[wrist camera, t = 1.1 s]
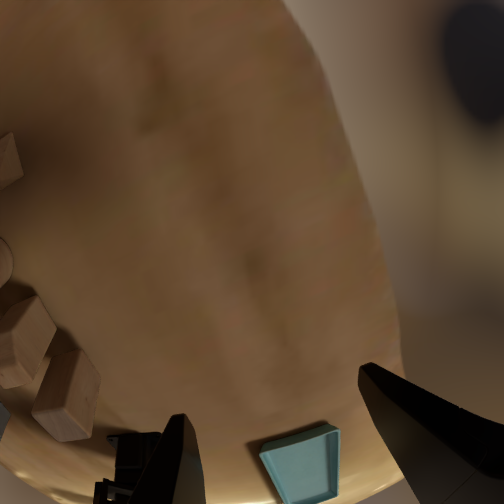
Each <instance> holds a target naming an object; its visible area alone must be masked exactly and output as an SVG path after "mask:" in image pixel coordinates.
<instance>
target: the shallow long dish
mask: <svg viewBox="0 0 504 504" xmlns="http://www.w3.org/2000/svg"><path fill="white" fill-rule="evenodd" d="M259 456H260V458H261V460H262V462H263V464H264V466H265V468H266V470H267V472H268V474H269V476H270V478H271V480H272V482H273V484H274V486H275V488H276V489H277V492H278V493H279V495H280V497H281V499H282V501H283V503H284V504H318V503H321V502H324V501H327V500H329V499H332V498H335V497H337V496H338V495H339V469H340V468H339V467H340V429H338V428H337V427H335V426H332V425H330V424H325V425H323V426H320V427H317V428H314V429H311V430H308V431H305V432H302V433H299V434H296V435H293V436H289V437H286V438H282V439H279V440H275V441H271V442H267V443H265V444H263V446H262V448H261V450H260V453H259Z"/></svg>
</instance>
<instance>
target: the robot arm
mask: <svg viewBox="0 0 504 504" xmlns="http://www.w3.org/2000/svg"><path fill="white" fill-rule="evenodd" d="M358 387H359V390H360V393H361V395H362V397H363V399H364V402H365V404H366V406H367V409H368V411H369V413H370V416H371V418H372V420H373V422H374V425H375V427H376V429H377V430H378V432H379V434H380V435H381V437H382V439H383V441H384V442H385V444H386V446H387V447H388V449H389V451H390V452H391V454H392V456H393V458H394V459H395V461H396V463H397V464H398V466H399V468H400V470H401V471H402V473H403V475H404V476H405V478H406V480H407V482H408V483H409V485H410V487H411V489H412V490H413V492H414V494H415V495H416V497H417V499H418V501H419V503H420V504H504V425H503V424H500V423H497V422H494V421H491V420H488V419H486V418H483V417H480V416H478V415H476V414H473V413H471V412H469V411H467V410H465V409H463V408H459V406H457V405H454V404H452V403H450V402H448V401H446V400H444V399H442V398H440V397H438V396H436V395H434V394H432V393H430V392H428V391H426V390H425V389H423V388H421V387H419V386H417V385H415V384H413V383H411V382H409V381H407V380H405V379H403V378H401V377H399V376H398V375H396V374H394V373H392V372H390V371H388V370H386V369H384V368H382V367H381V366H379V365H377V364H375V363H373V362H369V363H367V364H364V365H361V366H360V368H359V374H358ZM157 435H158V436H157ZM106 439H107V441H108V442H109V443H110V444H111V445H112V446H113V447H114V448H115V449H116V450H117V451H116V460H115V478H114V481H110V480H109V479H106V478H103V482H95V490H94V499H93V504H206V499H205V486H204V476H203V470H202V464H201V459H200V454H199V449H198V444H197V439H196V433H195V430H194V427H193V426H192V424H191V422H190V420H189V419H188V417H187V415H186V414H184V413H182V414H175V415H172V416H171V418H170V420H169V422H168V423H167V425H166V427H165V429H164V431H163V433H160V432H151V433H140V434H127V435H109V436H107V438H106ZM107 498H108V499H112V501H109V500H107Z"/></svg>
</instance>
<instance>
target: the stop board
mask: <svg viewBox="0 0 504 504" xmlns="http://www.w3.org/2000/svg"><path fill="white" fill-rule="evenodd" d="M10 415H11V414H10V413H9V412H8V410H7V409H6V408H5V407H4V406H3V404H2V403H1V402H0V441H1V438H2V435H3V433H4V430H5V427H6V425H7V422H8V420H9V418H10Z"/></svg>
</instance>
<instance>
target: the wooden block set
mask: <svg viewBox="0 0 504 504" xmlns="http://www.w3.org/2000/svg"><path fill="white" fill-rule="evenodd" d="M23 176H24V173H23V169H22V166H21V162H20V159H19V155H18V152H17V148H16V144H15V140H14V136H13V132H11V133H9V134H7V135H6V136H4V137H3V138H2V139H0V190H2V189H3V188H5V187H6V186H8V185H10V184H11V183H13V182H14V181H16V180H18V179H19V178H21V177H23ZM12 270H13V257H12V253H11V250H10V249H9V247H8V245H7V244H6V243H5V242H4V241H3V240H2V239H1V238H0V288H1V287H2V286H3V285H4V284H5V283H6V282H7V281H8V280H9V278H10V276H11V274H12ZM56 330H57V328H56V326H55V324H54V323H53V321H52V319H51V317H50V316H49V314H48V312H47V311H46V309H45V307H44V305H43V304H42V302H41V300H40V298H39V297H38V296H37V295H36V296H33V297H30V298H28V299H26V300H23V301H21V302H19V303H16V304H14V305H12V306H11V307H10V308H9V309H8V311H7V312H6V313H5V315H4V316H3V317H2V318H1V320H0V385H1V386H2V387H3V388H4V389H8V388H12V387H17V386H21V385H25V384H30V383H31V382H32V381H33V380H34V377H35V375H36V373H37V370H38V368H39V366H40V364H41V361H42V359H43V357H44V355H45V353H46V351H47V349H48V346H49V344H50V342H51V340H52V338H53V336H54V334H55V332H56ZM100 382H101V376H100V374H99V373H98V371H97V370H96V369H95V367H94V366H93V364H92V363H91V362H90V360H89V359H88V357H87V356H86V354H85V353H84V351H83V350H82V349H77V350H73V351H70V352H67V353H64V354H60V355H57V356H54V357H53V358H52V359H51V361H50V364H49V366H48V369H47V371H46V373H45V376H44V378H43V381H42V383H41V386H40V389H39V391H38V394H37V397H36V399H35V402H34V405H33V408H32V411H31V414H32V416H33V418H34V419H35V420H36V421H37V422H38V423H39V424H40V425H41V426H42V427H43V428H44V429H45V430H46V431H47V432H48V433H49V434H50V435H51V436H52V437H53V438H54V439H55V440H57V441H59V442H65V441H73V440H81V439H88V438H90V437H91V435H92V428H93V421H94V415H95V409H96V403H97V397H98V392H99V387H100Z"/></svg>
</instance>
